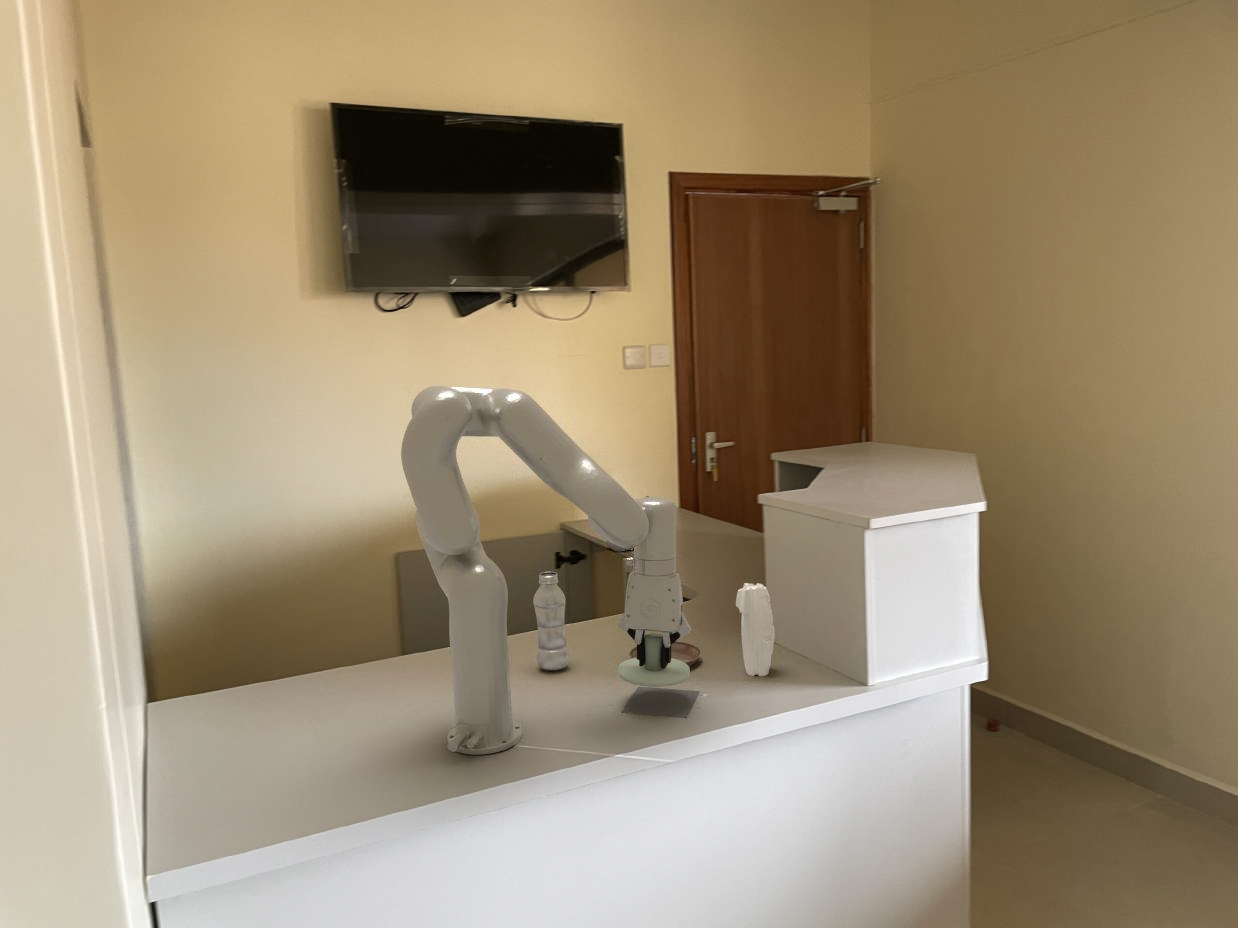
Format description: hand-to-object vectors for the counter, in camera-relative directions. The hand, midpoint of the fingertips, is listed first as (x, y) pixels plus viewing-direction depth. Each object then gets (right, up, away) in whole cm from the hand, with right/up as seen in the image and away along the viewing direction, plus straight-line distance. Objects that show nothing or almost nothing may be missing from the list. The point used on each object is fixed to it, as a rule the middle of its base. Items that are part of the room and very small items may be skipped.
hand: (653, 664), depth 160 cm
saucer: (+3, -5, +22) cm, 23 cm away
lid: (0, -2, 0) cm, 2 cm away
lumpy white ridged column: (+21, -5, +14) cm, 25 cm away
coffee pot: (-2, +9, +128) cm, 128 cm away
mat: (+1, -8, +1) cm, 8 cm away
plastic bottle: (-20, -6, +21) cm, 30 cm away
